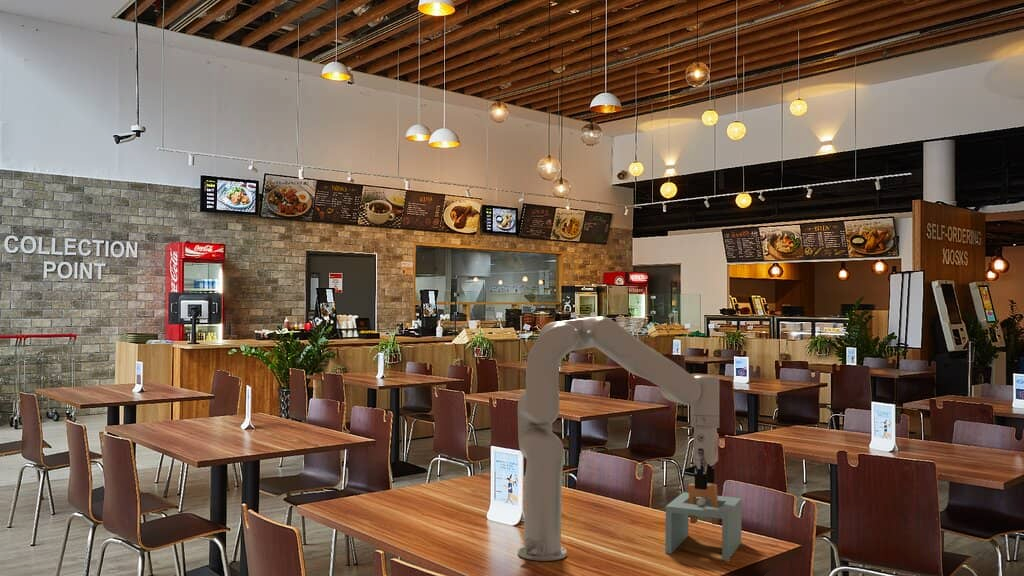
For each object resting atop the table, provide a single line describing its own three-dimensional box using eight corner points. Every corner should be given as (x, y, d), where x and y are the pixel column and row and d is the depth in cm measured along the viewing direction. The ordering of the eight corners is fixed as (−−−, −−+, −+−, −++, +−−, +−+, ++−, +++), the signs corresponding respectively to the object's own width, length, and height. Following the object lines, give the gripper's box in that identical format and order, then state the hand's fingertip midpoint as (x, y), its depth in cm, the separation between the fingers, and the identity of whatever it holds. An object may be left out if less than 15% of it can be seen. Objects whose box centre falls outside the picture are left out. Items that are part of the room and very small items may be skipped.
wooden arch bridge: (719, 522, 213) (716, 484, 214) (716, 524, 211) (714, 486, 212) (693, 520, 217) (690, 483, 217) (690, 523, 214) (688, 485, 215)
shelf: (728, 561, 201) (728, 506, 202) (665, 552, 208) (665, 500, 208) (741, 542, 219) (741, 492, 220) (683, 535, 226) (683, 486, 226)
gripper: (712, 425, 206) (712, 493, 205) (725, 419, 221) (724, 481, 220) (683, 423, 209) (683, 490, 208) (697, 417, 224) (697, 479, 224)
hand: (704, 485), depth 214 cm, fingers open, 9 cm apart
